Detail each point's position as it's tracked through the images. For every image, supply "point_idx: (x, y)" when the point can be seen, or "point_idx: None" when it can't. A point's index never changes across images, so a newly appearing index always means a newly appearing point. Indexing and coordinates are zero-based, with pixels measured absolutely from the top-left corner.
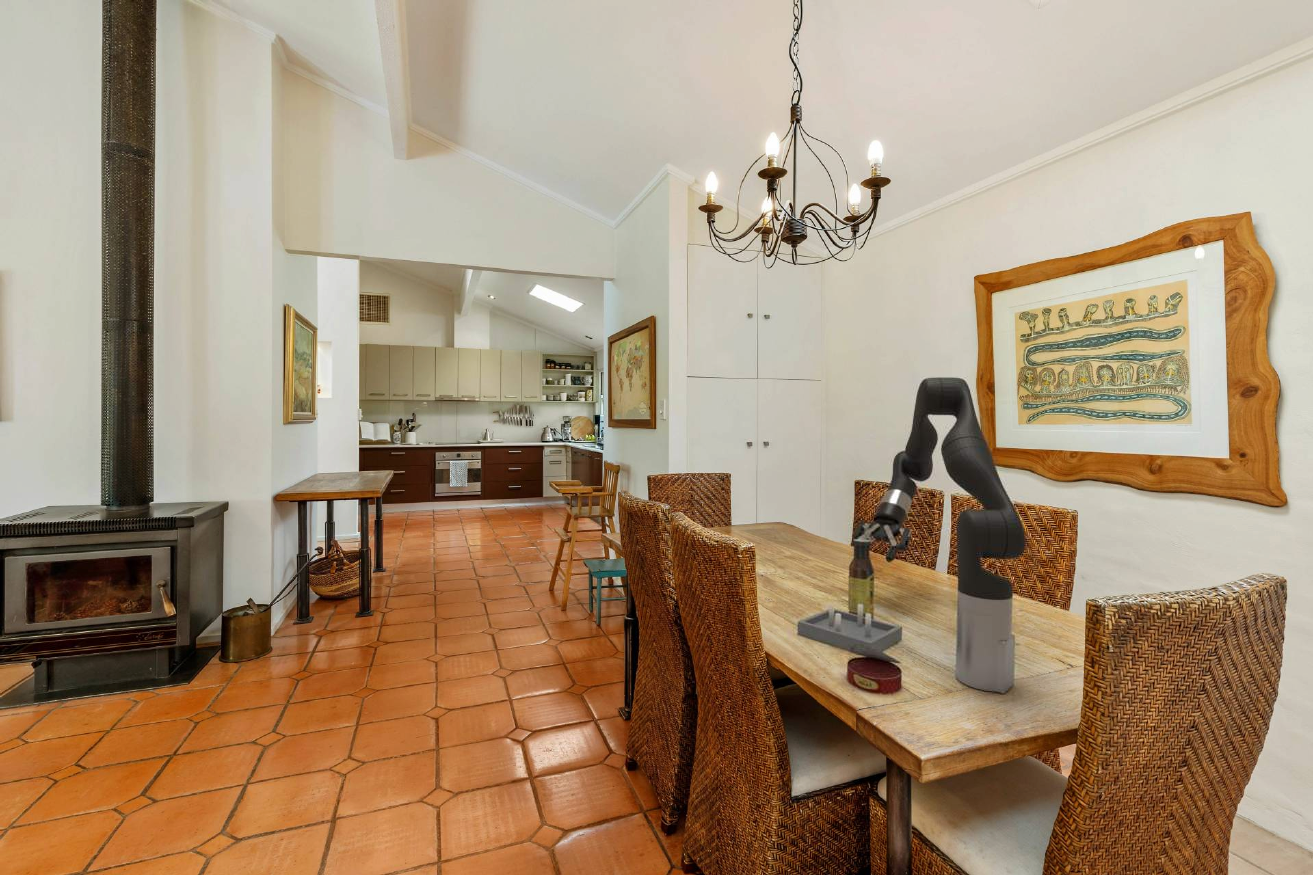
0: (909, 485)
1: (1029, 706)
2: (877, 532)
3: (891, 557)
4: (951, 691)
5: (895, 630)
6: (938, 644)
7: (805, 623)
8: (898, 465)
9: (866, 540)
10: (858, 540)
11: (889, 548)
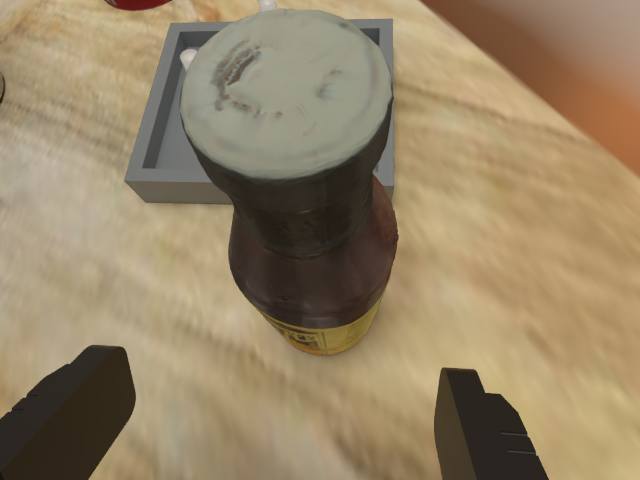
0: None
1: None
2: None
3: (62, 369)
4: (15, 29)
5: (136, 141)
6: (45, 245)
7: (367, 21)
8: None
9: (226, 112)
10: (306, 41)
11: (31, 438)
